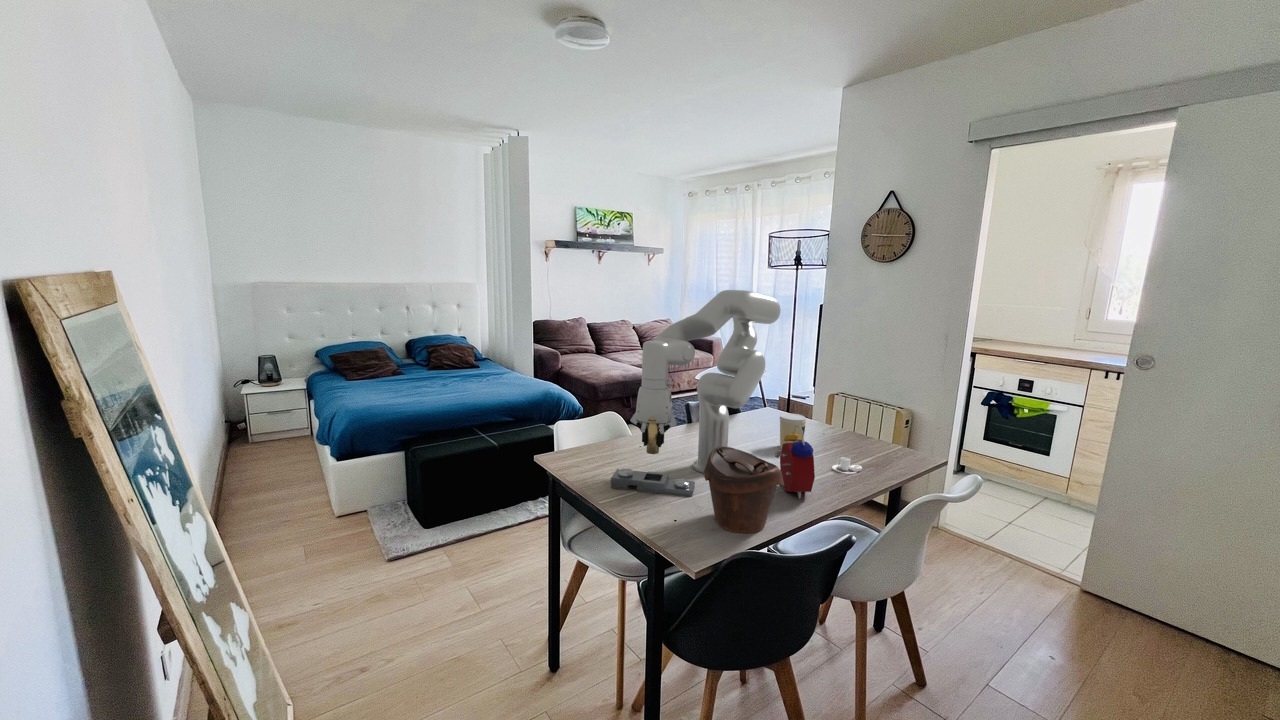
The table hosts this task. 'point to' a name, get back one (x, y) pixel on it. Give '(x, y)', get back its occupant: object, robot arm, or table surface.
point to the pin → (652, 437)
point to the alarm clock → (797, 464)
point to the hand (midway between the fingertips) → (652, 444)
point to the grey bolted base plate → (651, 482)
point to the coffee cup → (791, 426)
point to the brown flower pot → (741, 488)
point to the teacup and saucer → (846, 466)
